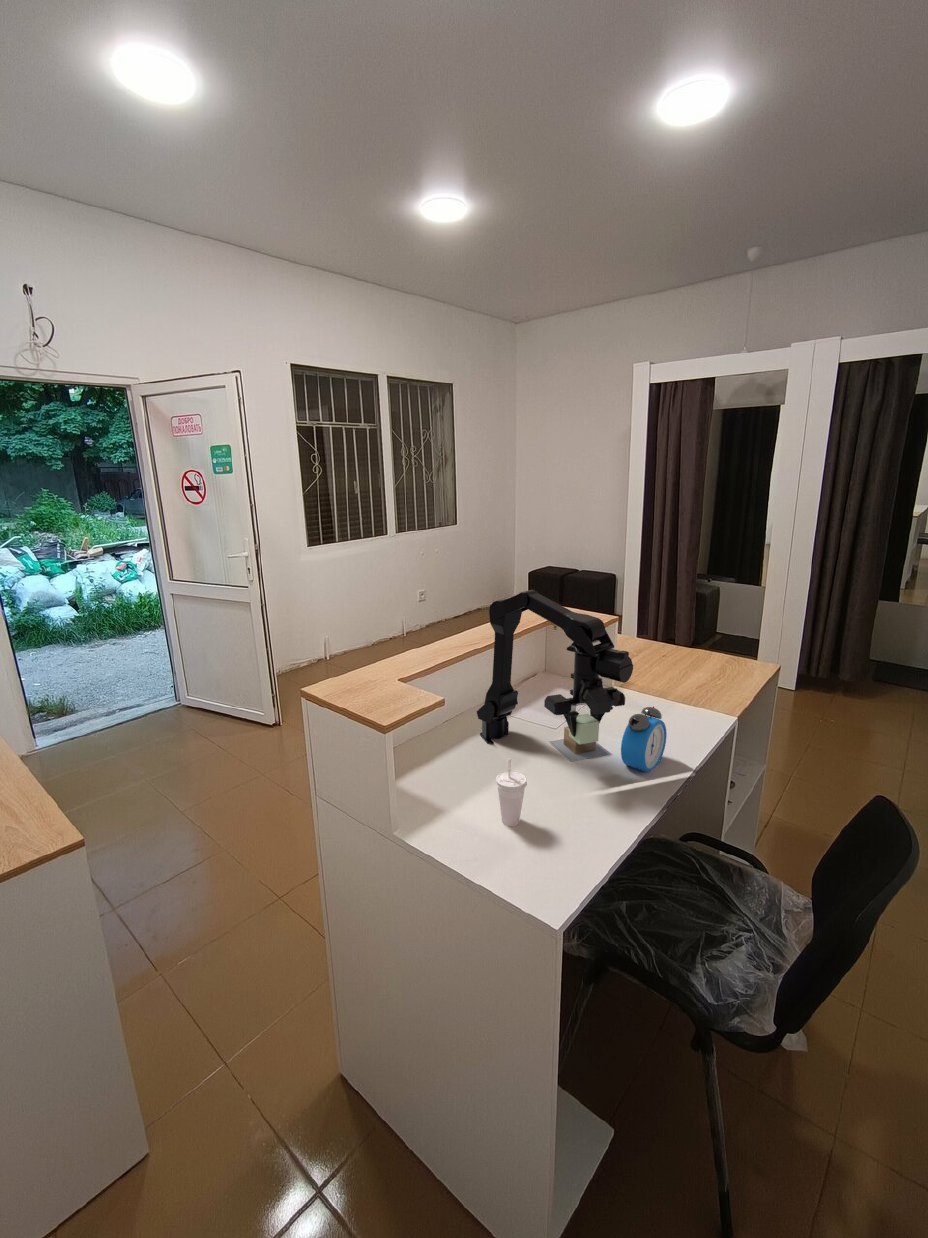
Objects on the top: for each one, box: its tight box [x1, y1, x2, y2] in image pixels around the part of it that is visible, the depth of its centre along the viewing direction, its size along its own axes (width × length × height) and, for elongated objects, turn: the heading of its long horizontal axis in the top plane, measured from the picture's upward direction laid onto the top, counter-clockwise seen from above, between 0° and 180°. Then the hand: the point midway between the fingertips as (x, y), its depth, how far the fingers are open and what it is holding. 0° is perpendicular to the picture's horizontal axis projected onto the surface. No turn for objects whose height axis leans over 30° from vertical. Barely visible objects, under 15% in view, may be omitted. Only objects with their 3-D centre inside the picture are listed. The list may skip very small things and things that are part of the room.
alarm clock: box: [620, 706, 668, 773], centre depth 138 cm, size 13×6×15 cm, turn 137°
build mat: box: [548, 738, 612, 762], centre depth 149 cm, size 12×12×1 cm
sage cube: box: [569, 713, 600, 744], centre depth 134 cm, size 5×5×5 cm
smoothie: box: [495, 757, 528, 827], centre depth 116 cm, size 6×6×14 cm
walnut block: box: [563, 726, 596, 754], centre depth 148 cm, size 6×6×5 cm
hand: (583, 734), depth 134 cm, fingers closed on sage cube, 5 cm apart
